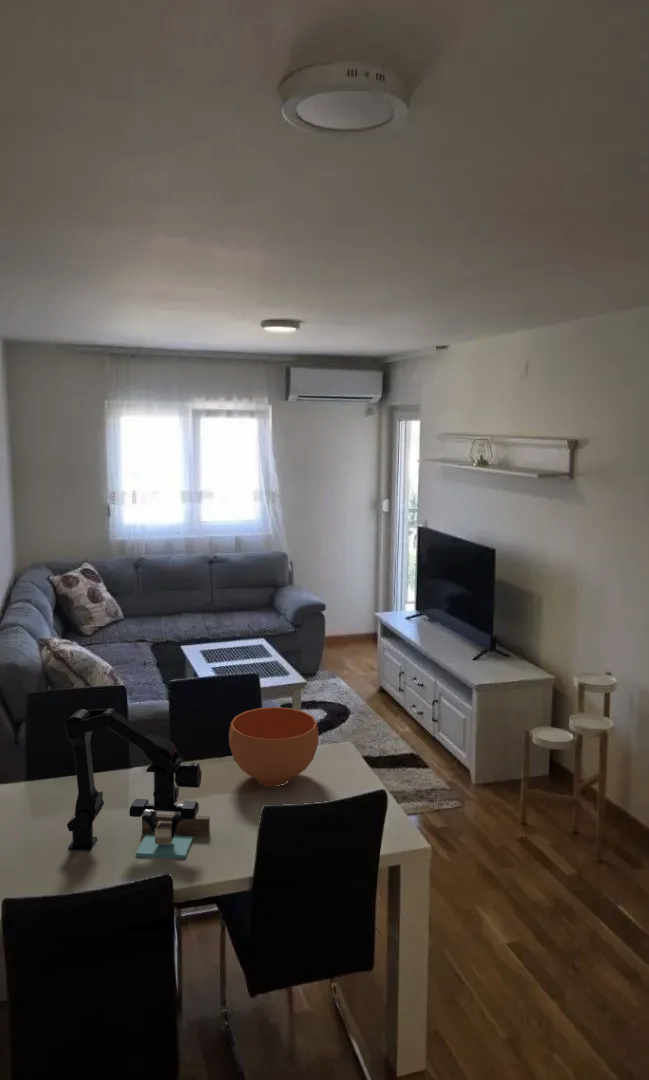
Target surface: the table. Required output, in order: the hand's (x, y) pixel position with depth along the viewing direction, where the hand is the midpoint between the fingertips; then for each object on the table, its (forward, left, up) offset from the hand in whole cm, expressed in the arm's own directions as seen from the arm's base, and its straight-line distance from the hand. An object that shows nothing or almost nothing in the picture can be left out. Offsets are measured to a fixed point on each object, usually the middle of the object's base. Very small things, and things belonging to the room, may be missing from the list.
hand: (164, 836), depth 225 cm
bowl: (+46, -26, -4) cm, 53 cm away
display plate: (0, 0, -4) cm, 4 cm away
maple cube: (0, 0, -1) cm, 1 cm away
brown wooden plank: (+9, -1, -4) cm, 10 cm away
